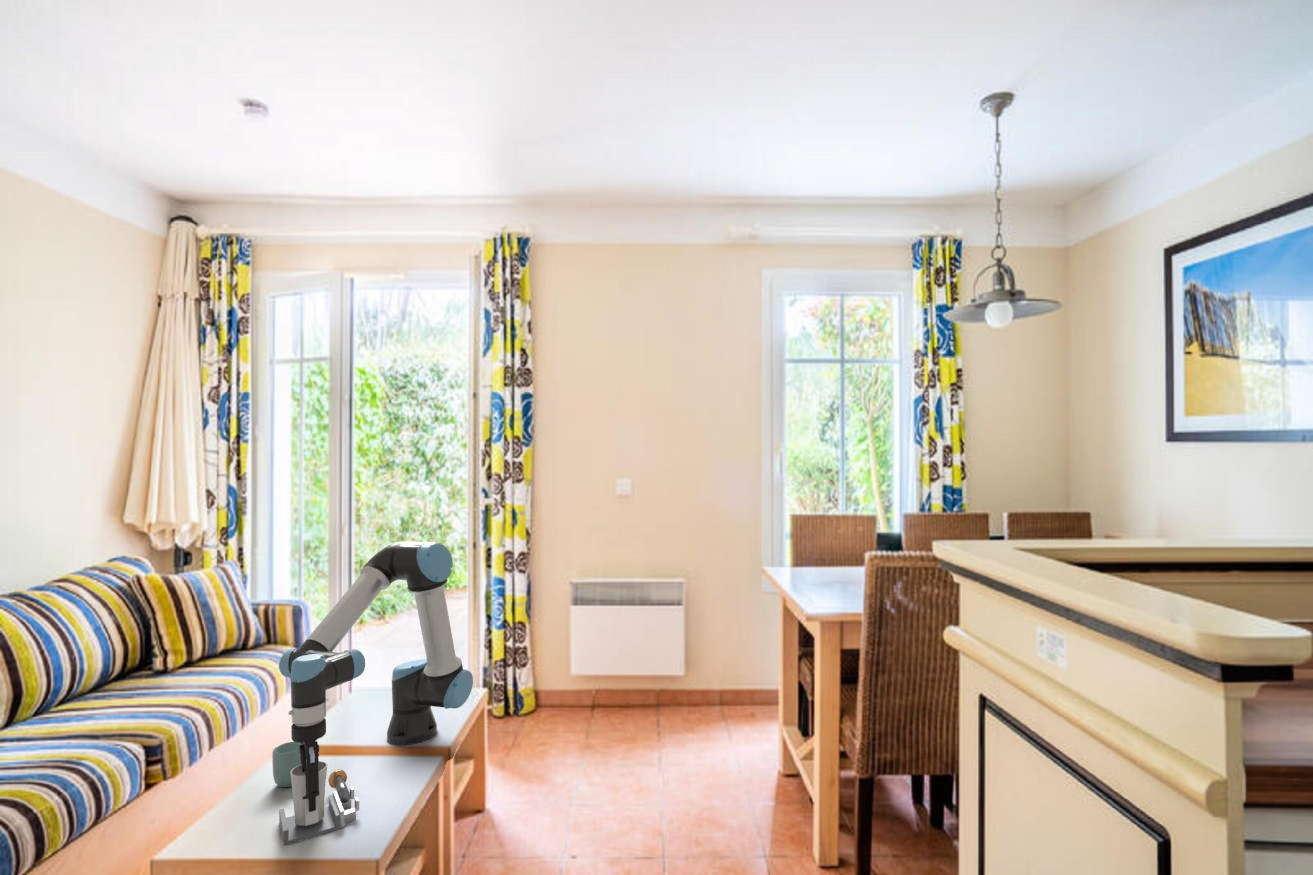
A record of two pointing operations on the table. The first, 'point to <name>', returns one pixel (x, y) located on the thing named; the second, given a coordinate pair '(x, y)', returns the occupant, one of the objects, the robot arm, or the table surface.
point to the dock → (298, 833)
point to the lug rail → (347, 807)
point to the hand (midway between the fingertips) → (309, 815)
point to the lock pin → (340, 784)
